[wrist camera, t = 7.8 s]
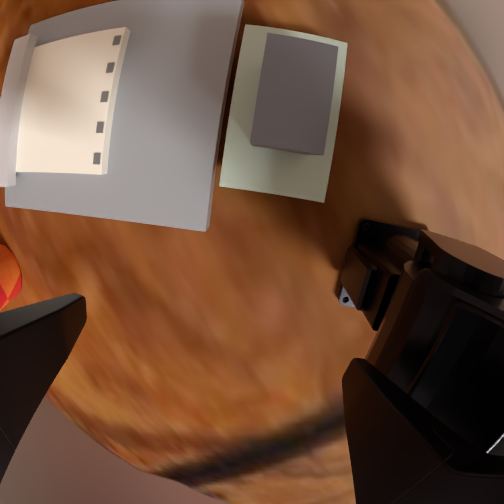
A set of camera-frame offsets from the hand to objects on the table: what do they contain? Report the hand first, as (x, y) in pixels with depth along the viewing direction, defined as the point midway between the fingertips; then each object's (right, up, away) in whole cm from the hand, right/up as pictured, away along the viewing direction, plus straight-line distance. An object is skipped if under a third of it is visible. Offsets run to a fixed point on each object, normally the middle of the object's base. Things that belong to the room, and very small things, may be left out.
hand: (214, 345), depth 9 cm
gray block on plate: (+3, +11, +7) cm, 13 cm away
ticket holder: (-9, +13, +8) cm, 18 cm away
